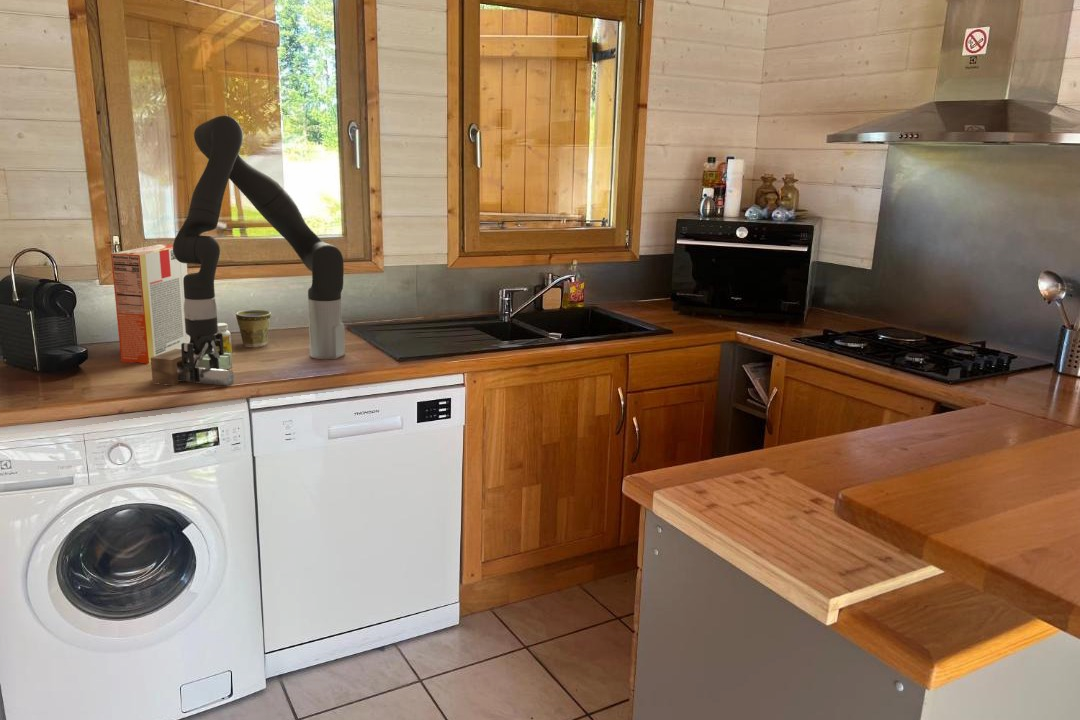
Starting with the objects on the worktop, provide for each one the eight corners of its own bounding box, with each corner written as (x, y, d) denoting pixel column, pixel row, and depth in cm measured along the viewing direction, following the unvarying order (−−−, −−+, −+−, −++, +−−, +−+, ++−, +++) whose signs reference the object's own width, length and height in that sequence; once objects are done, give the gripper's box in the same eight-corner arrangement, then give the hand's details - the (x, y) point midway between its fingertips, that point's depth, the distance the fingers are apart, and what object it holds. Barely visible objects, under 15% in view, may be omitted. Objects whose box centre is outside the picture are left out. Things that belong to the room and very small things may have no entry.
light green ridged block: (232, 367, 215) (231, 353, 214) (215, 374, 208) (214, 360, 207) (199, 364, 217) (198, 350, 216) (181, 371, 209) (180, 357, 208)
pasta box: (167, 342, 238) (159, 244, 231) (192, 344, 238) (185, 245, 230) (121, 361, 216) (110, 253, 209) (149, 363, 215) (139, 255, 208)
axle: (232, 386, 201) (235, 371, 202) (224, 385, 197) (226, 369, 198) (163, 379, 204) (165, 364, 205) (153, 377, 200) (155, 362, 201)
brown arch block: (197, 375, 207) (196, 350, 205) (173, 385, 197) (171, 359, 195) (177, 373, 208) (175, 348, 206) (152, 383, 198) (150, 357, 196)
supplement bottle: (233, 354, 229) (231, 322, 226) (230, 358, 224) (228, 326, 221) (213, 354, 227) (211, 322, 225) (210, 359, 222) (208, 326, 220)
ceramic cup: (276, 346, 239) (274, 314, 237) (242, 350, 234) (240, 317, 231) (264, 337, 250) (262, 307, 247) (231, 340, 244) (229, 309, 242)
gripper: (204, 309, 203) (208, 369, 207) (169, 319, 190) (174, 383, 194) (230, 311, 202) (234, 372, 206) (196, 321, 188) (201, 386, 192)
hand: (204, 377), depth 200 cm, fingers open, 8 cm apart
